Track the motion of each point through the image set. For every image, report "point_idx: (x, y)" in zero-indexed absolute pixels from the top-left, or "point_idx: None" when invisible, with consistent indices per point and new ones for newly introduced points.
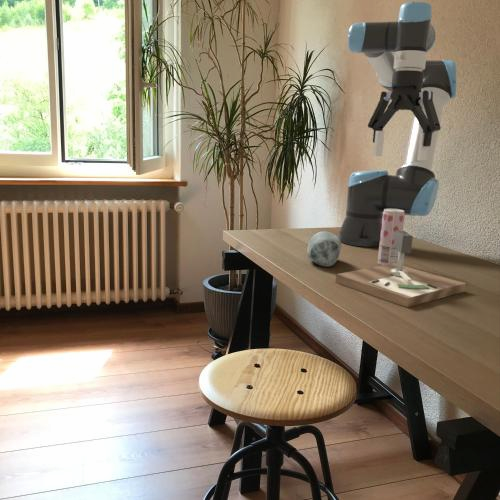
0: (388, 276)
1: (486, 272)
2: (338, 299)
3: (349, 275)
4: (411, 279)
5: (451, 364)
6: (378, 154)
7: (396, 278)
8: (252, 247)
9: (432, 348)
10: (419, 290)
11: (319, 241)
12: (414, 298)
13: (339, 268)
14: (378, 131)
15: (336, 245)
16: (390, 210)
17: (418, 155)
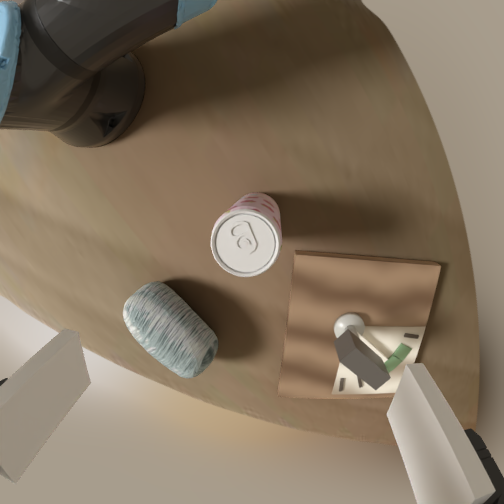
0: None
1: (407, 92)
2: (324, 427)
3: (294, 387)
4: (387, 359)
5: None
6: (80, 366)
7: None
8: (61, 330)
9: None
10: (402, 364)
11: (188, 377)
12: None
13: (224, 325)
14: (15, 478)
15: (208, 353)
16: (234, 249)
17: (398, 430)
